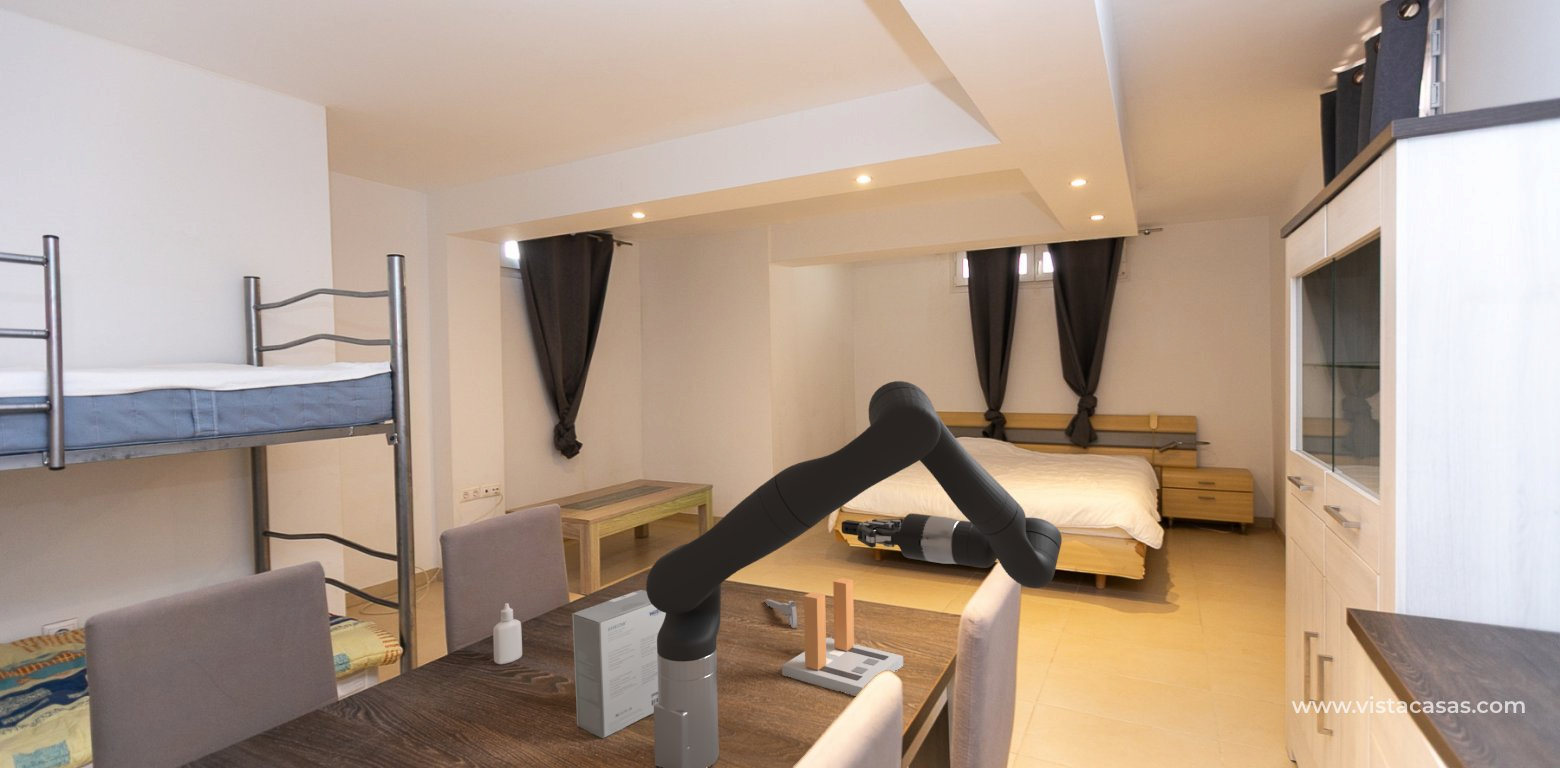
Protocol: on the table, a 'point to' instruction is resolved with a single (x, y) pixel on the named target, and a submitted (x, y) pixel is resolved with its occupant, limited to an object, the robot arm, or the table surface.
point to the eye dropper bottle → (507, 638)
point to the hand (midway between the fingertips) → (843, 526)
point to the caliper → (785, 610)
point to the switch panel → (844, 667)
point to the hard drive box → (616, 662)
